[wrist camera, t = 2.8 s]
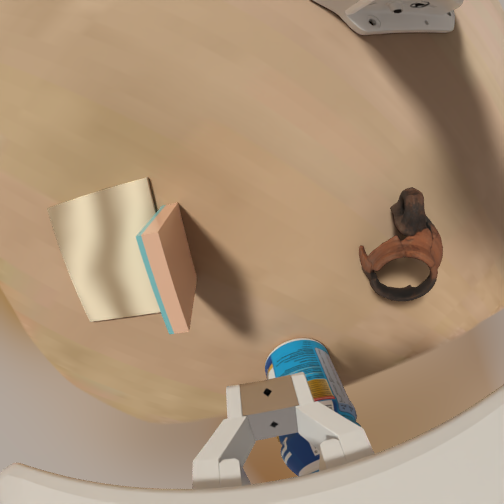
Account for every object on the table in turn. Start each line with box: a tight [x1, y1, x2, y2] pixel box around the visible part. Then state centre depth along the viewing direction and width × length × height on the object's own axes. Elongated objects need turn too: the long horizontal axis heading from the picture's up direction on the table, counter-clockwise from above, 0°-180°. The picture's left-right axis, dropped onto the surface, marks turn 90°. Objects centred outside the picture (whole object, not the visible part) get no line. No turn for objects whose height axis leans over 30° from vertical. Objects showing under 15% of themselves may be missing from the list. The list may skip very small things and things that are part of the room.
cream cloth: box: [47, 177, 161, 322], centre depth 28 cm, size 12×14×1 cm
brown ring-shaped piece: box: [359, 187, 443, 301], centre depth 27 cm, size 12×10×8 cm
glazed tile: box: [136, 202, 197, 334], centre depth 24 cm, size 2×8×9 cm, turn 10°
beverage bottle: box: [265, 338, 361, 476], centre depth 26 cm, size 8×8×20 cm
